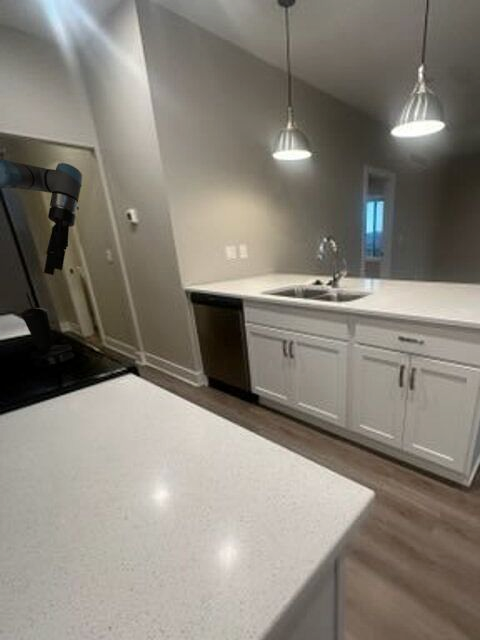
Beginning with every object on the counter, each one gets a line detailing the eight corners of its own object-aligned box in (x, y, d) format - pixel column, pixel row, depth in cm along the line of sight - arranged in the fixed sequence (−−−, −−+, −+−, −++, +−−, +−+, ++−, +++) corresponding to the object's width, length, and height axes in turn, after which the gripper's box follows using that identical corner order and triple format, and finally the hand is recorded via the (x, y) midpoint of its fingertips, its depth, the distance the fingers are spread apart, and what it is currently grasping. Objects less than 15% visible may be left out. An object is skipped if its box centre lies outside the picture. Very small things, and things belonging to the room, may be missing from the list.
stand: (26, 367, 108) (21, 356, 106) (57, 354, 117) (54, 343, 116) (52, 370, 105) (48, 358, 103) (83, 356, 114) (79, 345, 113)
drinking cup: (44, 345, 128) (24, 291, 120) (64, 344, 128) (45, 290, 120) (28, 352, 121) (7, 296, 113) (49, 352, 120) (29, 295, 113)
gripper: (85, 206, 112) (74, 270, 111) (67, 223, 129) (57, 278, 128) (58, 196, 107) (46, 262, 105) (42, 215, 124) (32, 272, 123)
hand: (52, 271), depth 117 cm, fingers open, 13 cm apart
